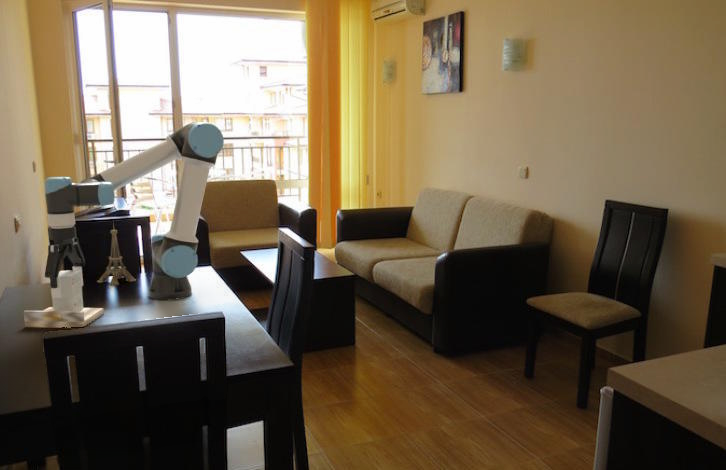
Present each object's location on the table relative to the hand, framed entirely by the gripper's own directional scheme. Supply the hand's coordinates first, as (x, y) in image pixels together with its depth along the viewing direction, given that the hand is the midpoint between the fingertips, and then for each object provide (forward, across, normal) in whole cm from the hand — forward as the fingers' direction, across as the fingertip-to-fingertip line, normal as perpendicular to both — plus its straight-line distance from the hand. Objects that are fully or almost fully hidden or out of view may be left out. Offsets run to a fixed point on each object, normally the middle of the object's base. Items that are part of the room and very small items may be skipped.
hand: (68, 291), depth 184 cm
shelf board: (+9, +2, 0) cm, 9 cm away
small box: (+7, 0, 0) cm, 7 cm away
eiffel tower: (+10, -47, -5) cm, 48 cm away
